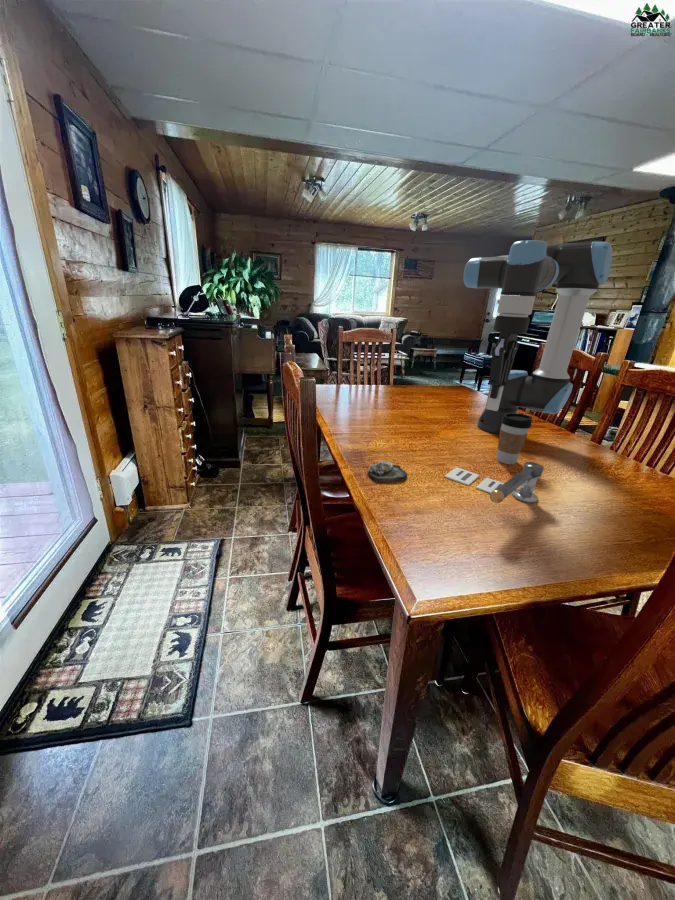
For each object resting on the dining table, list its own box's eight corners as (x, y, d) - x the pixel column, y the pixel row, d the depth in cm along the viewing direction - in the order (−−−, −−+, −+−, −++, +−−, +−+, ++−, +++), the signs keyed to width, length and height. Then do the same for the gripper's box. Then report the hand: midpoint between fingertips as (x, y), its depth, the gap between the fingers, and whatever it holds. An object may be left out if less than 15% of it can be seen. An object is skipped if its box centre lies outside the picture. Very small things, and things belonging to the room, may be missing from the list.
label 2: (486, 478, 100) (486, 477, 100) (511, 487, 96) (512, 485, 96) (475, 488, 94) (476, 486, 94) (502, 498, 90) (503, 496, 90)
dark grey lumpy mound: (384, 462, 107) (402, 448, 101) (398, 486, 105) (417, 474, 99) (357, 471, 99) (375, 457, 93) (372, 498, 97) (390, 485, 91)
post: (515, 488, 95) (522, 466, 93) (539, 496, 92) (547, 474, 89) (509, 496, 91) (515, 474, 88) (534, 505, 88) (541, 482, 85)
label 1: (456, 468, 105) (456, 466, 105) (479, 476, 101) (479, 474, 101) (444, 477, 100) (444, 475, 99) (468, 485, 95) (468, 484, 95)
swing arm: (525, 468, 92) (528, 459, 91) (543, 475, 89) (546, 465, 88) (482, 499, 76) (485, 488, 75) (502, 508, 73) (506, 497, 72)
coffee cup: (523, 467, 108) (537, 421, 102) (494, 463, 110) (506, 418, 104) (516, 456, 116) (528, 413, 110) (489, 453, 117) (500, 410, 111)
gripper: (505, 313, 91) (486, 401, 101) (487, 314, 82) (468, 411, 92) (537, 315, 87) (514, 407, 96) (521, 317, 78) (497, 418, 87)
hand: (492, 409), depth 94 cm, fingers closed
